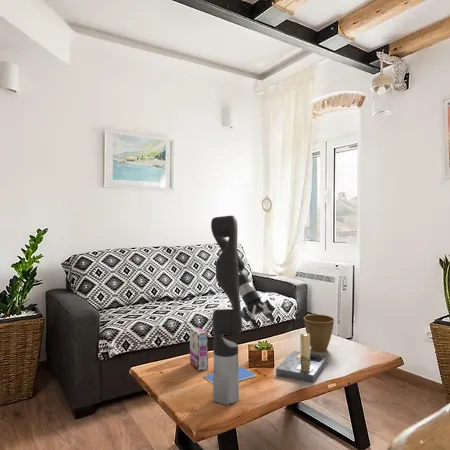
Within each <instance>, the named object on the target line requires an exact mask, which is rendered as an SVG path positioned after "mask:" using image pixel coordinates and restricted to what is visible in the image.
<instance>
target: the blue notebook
mask: <svg viewBox="0 0 450 450" xmlns="http://www.w3.org/2000/svg"><path fill="white" fill-rule="evenodd" d="M238 370H239V382H241V381H245V380H248V379H252V378H256V376H257V374H256V373H254V372H252V371H250V370H248V369H246V368H244V367H243V366H240V365H238ZM213 376H214V372H213V373H209V374H206V375H204V376H203V378H204V377H205V378H207V379H208V380H209V381H210V383H211V382H212V383H213ZM205 378H204V379H205ZM208 380H207V381H208ZM209 381H208V382H209ZM212 383H211V384H212Z"/></svg>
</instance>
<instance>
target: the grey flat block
mask: <svg viewBox="0 0 450 450" xmlns="http://www.w3.org/2000/svg"><path fill="white" fill-rule="evenodd" d="M327 364H328V356H327V355H322V354H317V353H310V369H302V368H301V351H297V350H293V351H292V352H291V353H290V354H289V355H288V356H287V357H286V358H285V359H284V360H283V361H282V362H280V364H279V365H278V366H277V367H275V376H277V377H283V378H287V379H292V380H296V381H297V380H298V381H303V382H308V383H312V384H313V383H314V382H315V381H316V380H317V378H318V377H319V375H320V374H321V373H322V371H324V368H325V367H326V365H327Z"/></svg>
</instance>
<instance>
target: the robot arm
mask: <svg viewBox="0 0 450 450" xmlns="http://www.w3.org/2000/svg"><path fill="white" fill-rule="evenodd" d="M210 227H211V234H212V236H213V238H214V239H215V242H216V244H217V245H218V246H219V248H220V250H221V253H220V255H219V256H218V258H217V260H216V263H215V280H216V282H217V283H218V285H219V287H220V288H221V289H222V291H223V292H224V293H225V295H226V296H227V298H228V300H229V303H230V305H231V308H232V309H230V308H229V309H227V308H225V309H224V308H223V309H222V308H221V309H218V308H217V309H214V310H213V313H212V334H213V373H214V376H213V384H212V388H213V389H212V393H213V394H212V395H213V397H212V398H213V399H212V400H213V401H214V402H213V401H212V402H213V403H217V402H218V403H217V404H221V403H222V405H226V406H229V405H231V404H235V403H237V402H238V401H239V399H240V396H239V395H240V393H239V391H240V386H239V384H240V383H239V382H240V381H239V370H238V366H239V345H238V344H237V343H236V342H234V341H231V340H228V339H227V338H225V337H224V336H228V335H230V336H231V335H234V336H235V335H240V334H241V333H242V329H243V319H242V317H244V320H245V321H246V322H250V323H251V324H252V327H253V328H255V329H258V328H259V324H258V322H257V320H256V319H255V316H256V315H258V314H262V313H263V314H265V315H267V316H268V319H269V321H270V322H271V323H274V322H275V317H274V315H273V312H274V311H275V309H274V307H273V305H272V304H271V302H270V301H269V299H266V300H264V301H262V300H261V297H260V295H259V293H258V292H257V290H256V288H255V287H254V284H252V282H251V281H250V280H251V279H249V276H248V275H247V274H246V273H240V272H242V271H244V269H245V266H246V265H245V261H243V259H242V258H241V257H240V255H239V252H238V220H237V218H236V217H235V216H234V215H224V216H216V217H213V218H212V219H211V222H210ZM227 238H228V239H227ZM241 299H242V301H243V303H244V305H245V306H246V307H243V308H241ZM248 312H250V315H249V313H248ZM242 315H243V316H242ZM230 403H231V404H230Z"/></svg>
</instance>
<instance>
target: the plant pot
mask: <svg viewBox="0 0 450 450" xmlns="http://www.w3.org/2000/svg"><path fill="white" fill-rule="evenodd" d="M303 321H304V327H305V328H304V329H305V331H306V334H310V349H311V350H312V351H314V352H320V353H321V352H326V351H327V350H328V346H329V344H330V341H331V338H332V334H333V329H334V324H335V323H334V322H335V319H334V317H332V316H329V315H326V314H315V313H314V314H308V315H305V316H304V317H303Z"/></svg>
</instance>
